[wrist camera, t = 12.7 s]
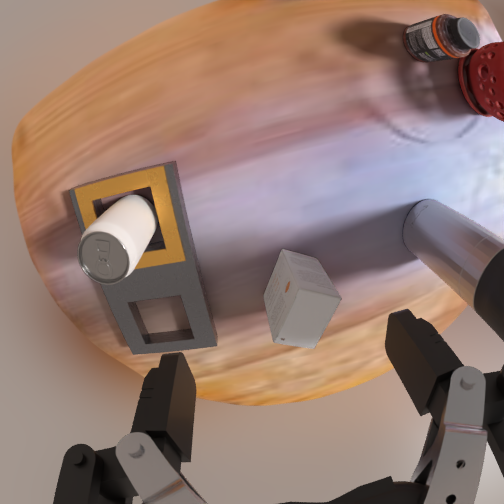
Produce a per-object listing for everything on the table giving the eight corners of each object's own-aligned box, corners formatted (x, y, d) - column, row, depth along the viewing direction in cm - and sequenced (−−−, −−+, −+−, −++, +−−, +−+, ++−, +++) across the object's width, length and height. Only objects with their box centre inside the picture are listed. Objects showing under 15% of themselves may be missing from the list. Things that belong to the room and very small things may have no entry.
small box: (296, 303, 44) (314, 350, 35) (261, 295, 43) (272, 344, 34) (318, 257, 41) (343, 298, 32) (281, 246, 40) (299, 288, 31)
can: (112, 237, 37) (76, 283, 26) (113, 191, 35) (71, 223, 24) (157, 243, 38) (134, 293, 27) (160, 196, 36) (134, 231, 25)
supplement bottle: (430, 30, 27) (481, 18, 17) (435, 65, 30) (489, 62, 20) (398, 21, 27) (447, 3, 17) (403, 59, 30) (457, 49, 20)
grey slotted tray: (217, 335, 46) (217, 347, 43) (136, 344, 45) (132, 355, 43) (175, 160, 34) (171, 163, 31) (77, 185, 34) (68, 191, 31)
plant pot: (479, 135, 35) (532, 149, 24) (439, 69, 30) (496, 67, 19) (506, 93, 31) (555, 100, 20) (471, 32, 27) (522, 26, 16)
